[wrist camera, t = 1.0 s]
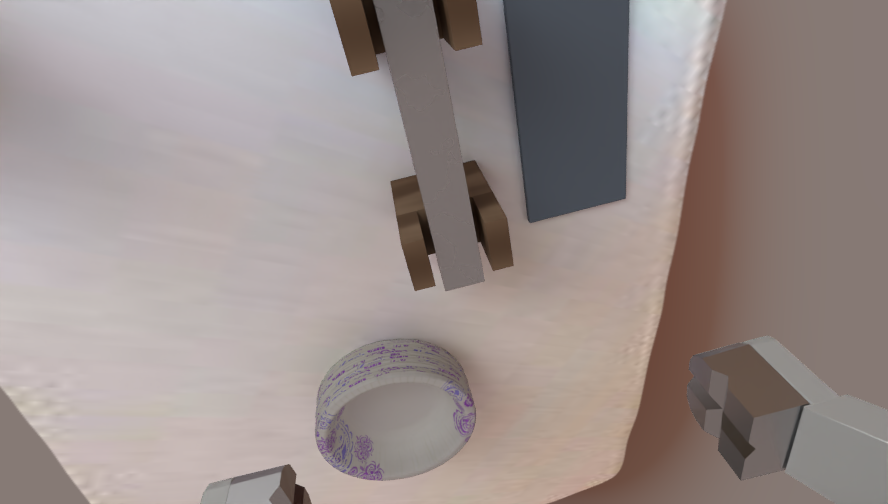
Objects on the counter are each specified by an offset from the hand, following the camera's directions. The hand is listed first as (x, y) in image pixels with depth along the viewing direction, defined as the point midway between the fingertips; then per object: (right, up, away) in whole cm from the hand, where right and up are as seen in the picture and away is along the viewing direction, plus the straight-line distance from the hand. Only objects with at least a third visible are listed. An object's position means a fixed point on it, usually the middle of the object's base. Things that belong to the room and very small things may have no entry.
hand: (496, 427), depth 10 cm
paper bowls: (-7, -9, +43) cm, 44 cm away
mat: (+9, +18, +28) cm, 34 cm away
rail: (-2, +11, +23) cm, 26 cm away
